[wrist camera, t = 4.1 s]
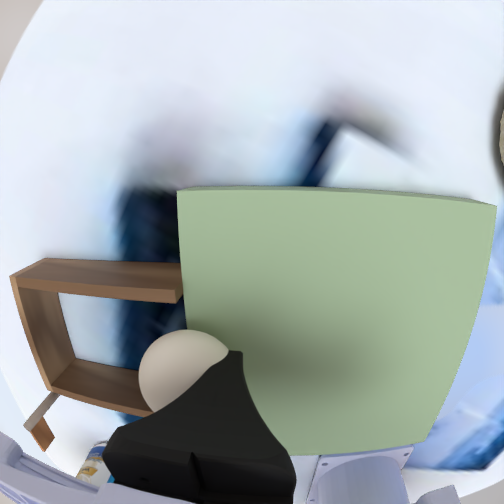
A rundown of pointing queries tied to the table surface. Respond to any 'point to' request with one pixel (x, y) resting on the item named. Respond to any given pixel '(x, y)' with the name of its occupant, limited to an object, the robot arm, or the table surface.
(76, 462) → the table surface
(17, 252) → the table surface
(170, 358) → the ball
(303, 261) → the green
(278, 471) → the robot arm
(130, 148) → the table surface
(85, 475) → the beverage bottle
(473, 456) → the table surface
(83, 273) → the open wooden cubby
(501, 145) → the sea urchin shell
